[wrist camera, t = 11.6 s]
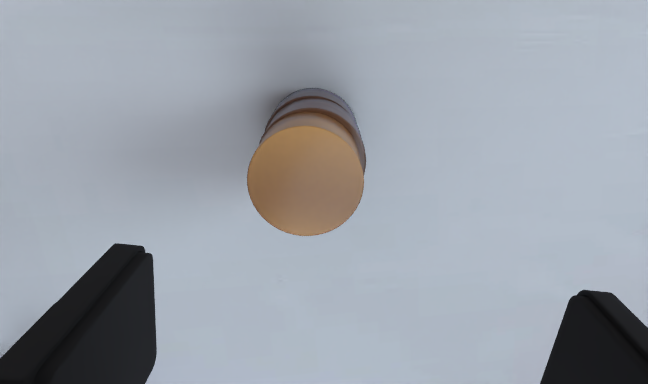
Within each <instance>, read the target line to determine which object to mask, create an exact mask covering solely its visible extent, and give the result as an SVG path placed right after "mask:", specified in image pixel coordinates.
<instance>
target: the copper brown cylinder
mask: <svg viewBox="0 0 648 384" xmlns="http://www.w3.org/2000/svg"><path fill="white" fill-rule="evenodd" d="M247 186H248V192H249V195H250V198H251V200H252V203H253V205H254V206H255V208H256V210H257V211H258V212H259V214H260V215H261V216H262V217H263V218H264V219H265V220H266V221H267V222H268V223H270V224H271V225H272V226H274V227H276V228H278V229H279V230H282V231H284V232H286V233H290V234H294V235H300V236H312V235H319V234H323V233H326V232H329V231H331V230H333V229H335V228H337V227H339V226H340V225H342V224H343V223H344V222H345V221H347V220H348V219H349V217H350V216H351V215H352V214H353V213H354V211H355V210H356V208H357V206H358V204H359V203H360V200H361V197H362V193H363V187H364V176H363V170H362V166H361V161H360V157H359V152H358V148H357V145H356V143H355V141H354V139H353V137H352V135H351V134H350V133H349V131H348V130H347V129H346V128H345V127H344V126H343V125H342V124H341V123H339V122H338V121H336V120H335V119H333V118H331V117H329V116H327V115H323V114H320V113H314V112H302V113H296V114H292V115H289V116H287V117H285V118H283V119H281V120H279V121H278V122H277V123H275V124H274V125H273V126H272V127H271V128H270V129H269V130H268V131H267V133H266V134H265V136H264V137H263V139H262V141H261V143H260V144H259V146H258V148H257V150H256V151H255V153H254V155H253V157H252V159H251V161H250V164H249V168H248V174H247Z"/></svg>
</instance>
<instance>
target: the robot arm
mask: <svg viewBox="0 0 648 384" xmlns="http://www.w3.org/2000/svg"><path fill="white" fill-rule="evenodd" d="M155 360H156V325H155V299H154V274H153V257H152V254H150V253H145V249H144V247H143V246H137V245H127V244H114V245H113V246H112V247H111V248H110V249H109V250H108V251H107V252H106V253H105V254H104V255H103V256H102V257H101V258H100V259H99V260H98V261H97V262H96V263H95V264H94V265H93V266H92V267H91V268H90V269H89V270H88V271H87V272H86V273H85V274H84V275H83V276H82V277H81V278H80V279H79V280H78V281H77V282H76V283H75V284H74V285H73V286H72V287H71V288H70V289H69V290H68V291H67V292H66V294H65V295H64V296H63V297H62V298H61V299H60V300H59V301H58V302H56V303H55V304H54V305H53V306H52V307H51V308H50V309H49V310H48V311H47V312H46V313H45V314H44V315H43V316H42V317H41V318H40V319H39V320H38V321H37V322H36V323H35V324H34V325H33V326H32V327H31V328H30V329H29V330H28V331H27V332H26V333H25V334H24V335H23V336H22V337H21V338H20V339H19V340H18V341H17V342H16V343H15V344H14V345H13V346H12V347H11V348H10V349H9V350H8V351H7V352H6V353H5V354H4V355H3V356H2V357H1V358H0V384H145V383H146V381H147V379H148V377H149V375H150V373H151V371H152V369H153V367H154V364H155ZM540 384H648V328H647V327H646V326H645V325H644V324H643V323H642V322H641V321H640V320H639V319H638V318H637V317H636V316H635V315H634V314H633V313H632V312H631V311H630V310H629V309H628V308H627V307H626V306H625V305H624V304H623V303H622V302H621V301H620V300H619V299H618V298H617V297H616V296H615V295H613V294H612V293H608V292H599V291H589V290H582V291H580V292H579V293H578V294H577V296H572V297H571V298H570V300H569V302H568V305H567V308H566V311H565V314H564V317H563V320H562V323H561V325H560V328H559V331H558V334H557V337H556V340H555V343H554V346H553V348H552V351H551V354H550V357H549V360H548V363H547V366H546V369H545V371H544V374H543V377H542V380H541V383H540Z"/></svg>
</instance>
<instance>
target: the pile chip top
mask: <svg viewBox="0 0 648 384" xmlns="http://www.w3.org/2000/svg"><path fill="white" fill-rule="evenodd" d="M302 112H314V113H320V114H323V115H327V116H329V117H331V118H333V119H335V120H336V121H338V122H339V123H341V124H342V125H343V126H344V127H345V128H346V129H347V130H348V131H349V133H350V134H351V135H352V137H353V139H354V141H355V143H356V145H357V148H358V152H359V157H360V161H361V166H362V170H363V176H364V172H365V168H366V154H365V149H364V145H363V141H362V138H361V134H360V131H359V128H358V126H357V124H356V122H355V121H354V119H353V118H352V116H351V115H350V114H349V113H348V112H347V111H346V110H345V109H343V108H342V107H341V106H339V105H337V104H336V103H333V102H331V101H328V100H325V99H320V98H305V99H301V100H297V101H294V102H292V103H290V104H288V105H286V106H285V107H284V108H282V109H281V110H280V111H279V112H278V113H277V114H276V115H275V116H274V118H273V119H272V121H271V122H270V124H269V126H268V127H267V129H266V131H265V132H264V134H263V136H262V138H261V140H260V143H261V141H262V139H263V137H264V136H265V134H266V133H267V131H268V130H269V129H270V128H271V127H272V126H273V125H274V124H275V123H277V122H278V121H279V120H281V119H283V118H285V117H287V116H289V115H292V114H296V113H302ZM260 143H259V144H260Z"/></svg>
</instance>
